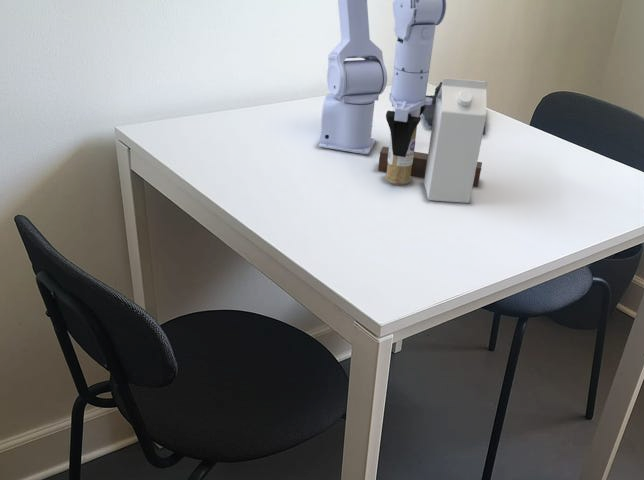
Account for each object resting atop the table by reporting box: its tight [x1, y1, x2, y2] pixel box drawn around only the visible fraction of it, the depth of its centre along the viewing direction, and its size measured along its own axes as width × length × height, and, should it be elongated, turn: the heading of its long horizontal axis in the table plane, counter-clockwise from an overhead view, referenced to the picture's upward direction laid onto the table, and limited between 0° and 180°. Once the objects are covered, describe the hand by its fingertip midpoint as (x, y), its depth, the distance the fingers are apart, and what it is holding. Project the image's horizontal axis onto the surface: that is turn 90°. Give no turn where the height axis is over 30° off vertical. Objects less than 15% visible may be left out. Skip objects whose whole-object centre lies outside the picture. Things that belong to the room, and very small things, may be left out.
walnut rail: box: [377, 146, 483, 188], centre depth 128 cm, size 18×3×4 cm, turn 80°
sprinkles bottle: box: [384, 106, 421, 186], centre depth 122 cm, size 5×5×14 cm
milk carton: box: [423, 77, 489, 204], centre depth 118 cm, size 7×7×19 cm
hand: (401, 150), depth 123 cm, fingers closed on sprinkles bottle, 4 cm apart
